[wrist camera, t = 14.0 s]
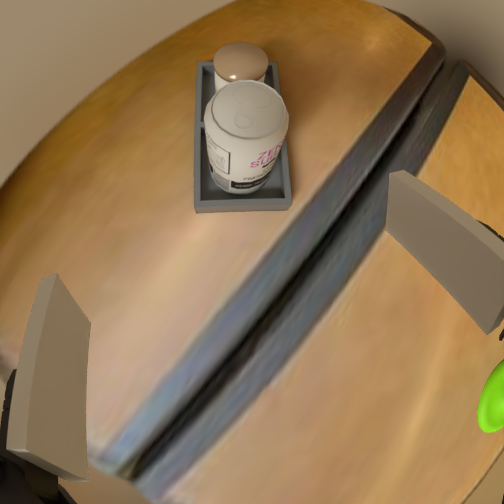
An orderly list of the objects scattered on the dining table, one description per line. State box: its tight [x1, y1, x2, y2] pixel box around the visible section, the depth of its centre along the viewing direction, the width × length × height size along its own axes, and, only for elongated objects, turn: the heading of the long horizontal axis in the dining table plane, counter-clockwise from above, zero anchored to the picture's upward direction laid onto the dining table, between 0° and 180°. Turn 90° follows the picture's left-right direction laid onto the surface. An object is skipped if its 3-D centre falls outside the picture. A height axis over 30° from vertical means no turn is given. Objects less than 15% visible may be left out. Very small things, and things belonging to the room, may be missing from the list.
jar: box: [214, 42, 268, 94], centre depth 39 cm, size 7×7×9 cm
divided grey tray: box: [194, 62, 292, 213], centre depth 42 cm, size 12×23×3 cm, turn 3°
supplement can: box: [204, 80, 289, 195], centre depth 34 cm, size 8×8×15 cm
